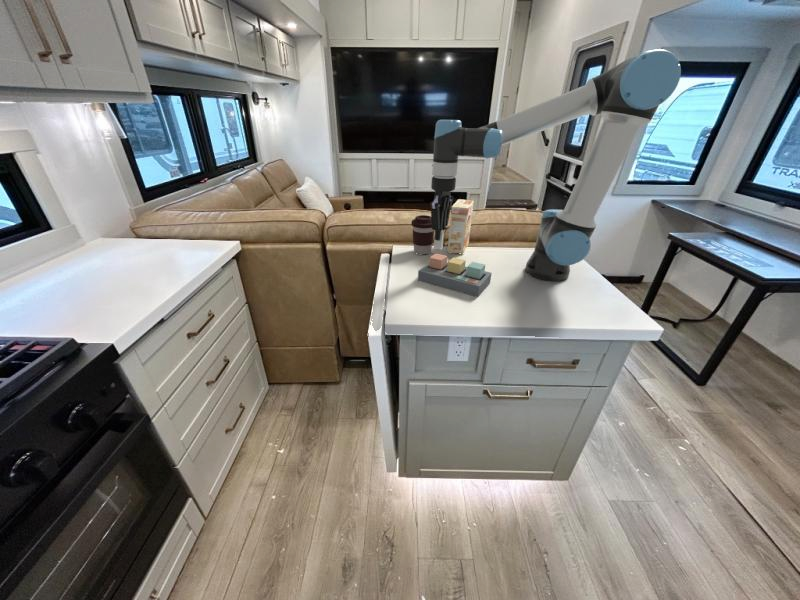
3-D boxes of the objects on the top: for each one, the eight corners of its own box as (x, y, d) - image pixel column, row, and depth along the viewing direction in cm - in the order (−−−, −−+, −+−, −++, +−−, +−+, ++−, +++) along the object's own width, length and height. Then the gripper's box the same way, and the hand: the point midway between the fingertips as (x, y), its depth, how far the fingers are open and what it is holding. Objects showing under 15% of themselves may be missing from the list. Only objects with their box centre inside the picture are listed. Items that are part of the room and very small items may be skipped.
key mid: (464, 269, 113) (465, 260, 111) (459, 274, 109) (460, 264, 108) (452, 266, 115) (453, 257, 113) (447, 271, 112) (447, 261, 110)
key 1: (446, 265, 116) (447, 256, 114) (440, 269, 113) (441, 260, 111) (435, 262, 118) (435, 253, 116) (429, 266, 115) (429, 257, 113)
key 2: (484, 274, 110) (485, 264, 108) (479, 279, 106) (480, 269, 104) (471, 271, 112) (472, 261, 110) (466, 275, 108) (467, 266, 107)
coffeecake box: (463, 255, 135) (468, 208, 126) (446, 252, 138) (450, 206, 128) (469, 243, 148) (474, 200, 138) (453, 241, 150) (457, 198, 140)
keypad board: (490, 283, 113) (491, 271, 111) (477, 297, 104) (479, 285, 102) (433, 268, 123) (434, 258, 121) (417, 280, 114) (418, 269, 112)
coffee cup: (412, 247, 143) (412, 213, 135) (434, 248, 142) (436, 214, 134) (409, 255, 134) (410, 220, 127) (433, 257, 133) (435, 221, 126)
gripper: (442, 172, 107) (436, 240, 119) (423, 178, 97) (419, 251, 109) (463, 175, 103) (455, 244, 115) (446, 180, 94) (439, 256, 106)
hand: (438, 248), depth 112 cm, fingers closed
